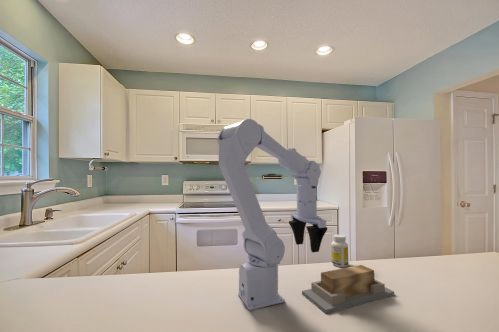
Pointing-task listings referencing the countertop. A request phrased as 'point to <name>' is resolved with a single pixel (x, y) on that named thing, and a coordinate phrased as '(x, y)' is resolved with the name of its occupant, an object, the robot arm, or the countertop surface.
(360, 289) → the oak slat
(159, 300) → the countertop surface
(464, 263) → the countertop surface
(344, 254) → the supplement bottle
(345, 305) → the cap board
